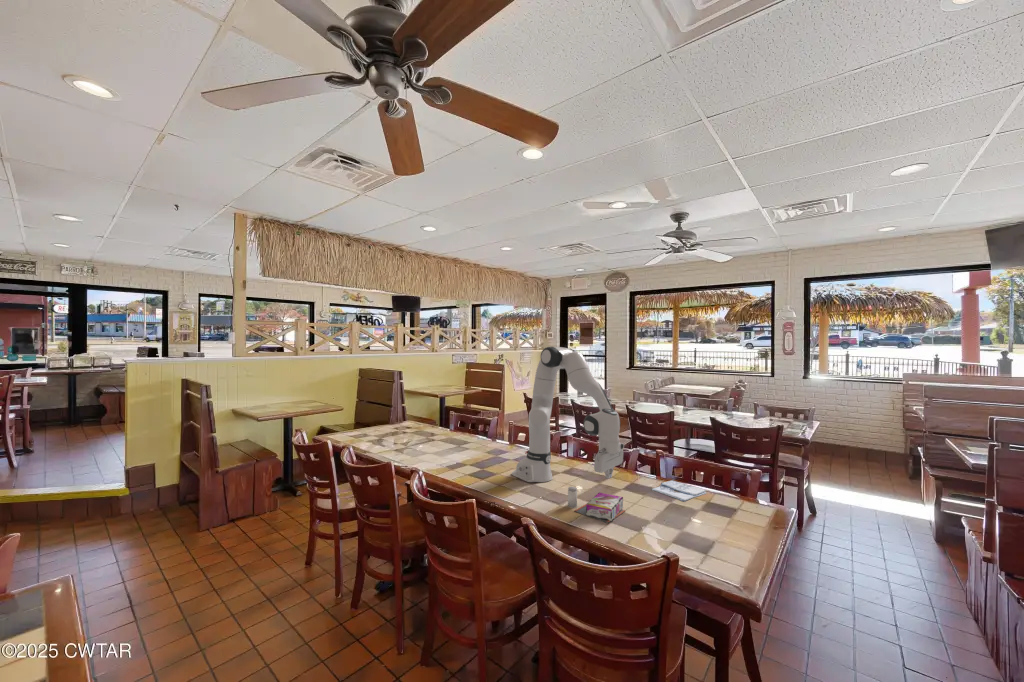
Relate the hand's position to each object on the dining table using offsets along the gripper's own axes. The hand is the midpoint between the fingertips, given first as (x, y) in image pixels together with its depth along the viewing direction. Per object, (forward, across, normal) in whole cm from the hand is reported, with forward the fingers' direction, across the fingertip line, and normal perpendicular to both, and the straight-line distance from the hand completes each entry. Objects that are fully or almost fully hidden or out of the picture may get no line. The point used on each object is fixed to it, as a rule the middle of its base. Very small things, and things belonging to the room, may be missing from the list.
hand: (608, 477), depth 178 cm
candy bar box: (+10, +2, 0) cm, 10 cm away
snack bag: (+14, +41, -16) cm, 46 cm away
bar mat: (+13, -7, 0) cm, 15 cm away
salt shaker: (+13, -10, +12) cm, 20 cm away
